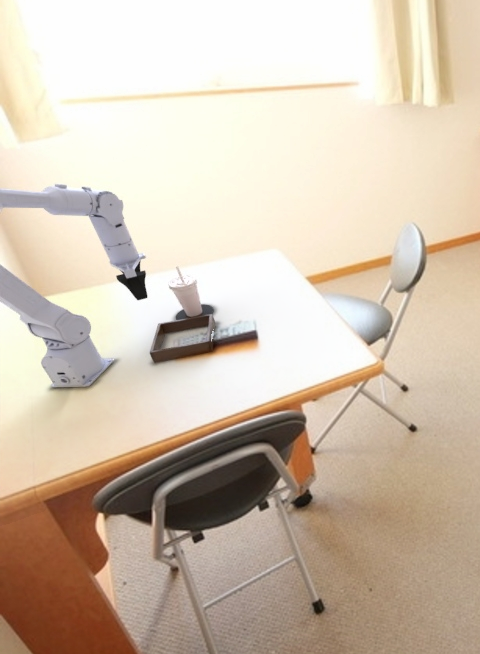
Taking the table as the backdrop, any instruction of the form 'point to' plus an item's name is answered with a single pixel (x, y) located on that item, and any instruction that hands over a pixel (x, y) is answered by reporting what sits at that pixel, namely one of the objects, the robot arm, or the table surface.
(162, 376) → the table surface
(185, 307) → the smoothie
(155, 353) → the box
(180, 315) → the coaster
